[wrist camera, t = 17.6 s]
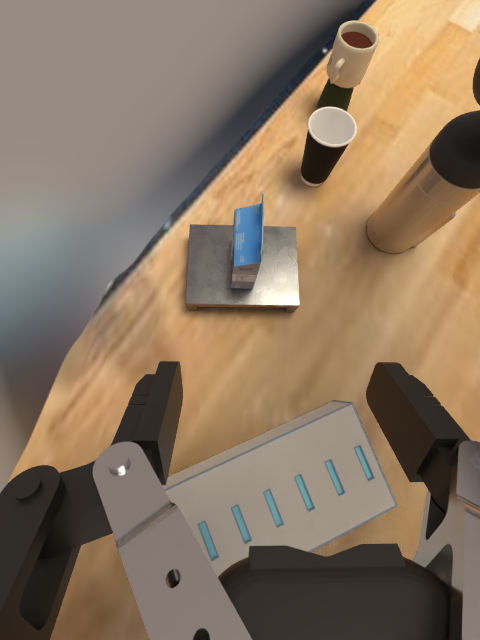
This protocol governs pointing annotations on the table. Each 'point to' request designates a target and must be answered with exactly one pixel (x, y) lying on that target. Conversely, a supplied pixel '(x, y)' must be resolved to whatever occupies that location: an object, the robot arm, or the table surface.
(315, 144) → the dixie cup
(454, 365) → the table surface
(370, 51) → the character mug
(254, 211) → the label tape box
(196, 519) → the warehouse
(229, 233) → the brushed metal plate
